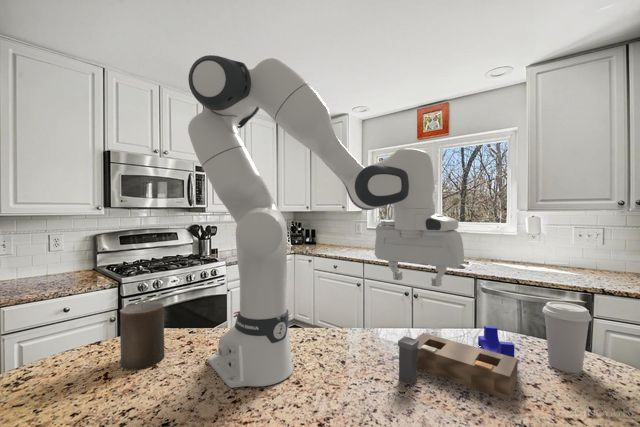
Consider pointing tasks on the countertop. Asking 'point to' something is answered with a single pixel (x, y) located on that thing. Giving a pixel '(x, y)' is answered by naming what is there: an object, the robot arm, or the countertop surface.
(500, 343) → the cable clip
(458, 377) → the socket block
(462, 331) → the countertop surface
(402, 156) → the robot arm
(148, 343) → the pillar candle
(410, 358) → the plug
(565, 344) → the coffee cup
